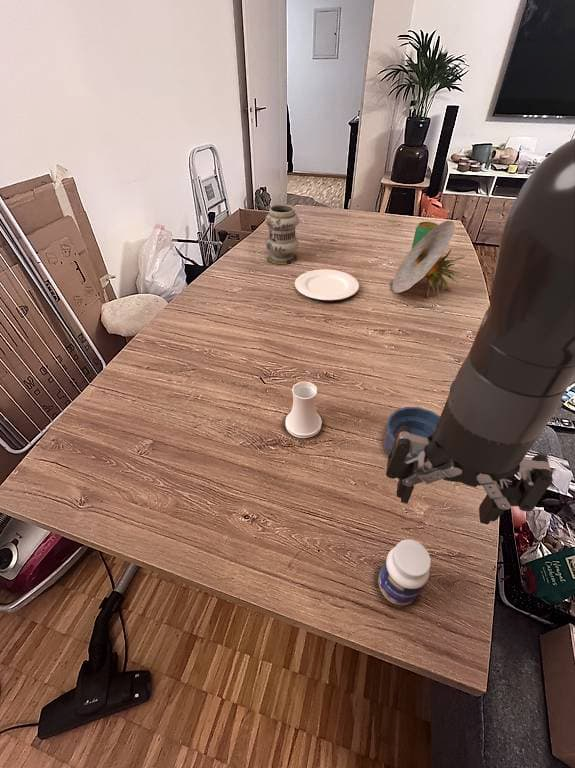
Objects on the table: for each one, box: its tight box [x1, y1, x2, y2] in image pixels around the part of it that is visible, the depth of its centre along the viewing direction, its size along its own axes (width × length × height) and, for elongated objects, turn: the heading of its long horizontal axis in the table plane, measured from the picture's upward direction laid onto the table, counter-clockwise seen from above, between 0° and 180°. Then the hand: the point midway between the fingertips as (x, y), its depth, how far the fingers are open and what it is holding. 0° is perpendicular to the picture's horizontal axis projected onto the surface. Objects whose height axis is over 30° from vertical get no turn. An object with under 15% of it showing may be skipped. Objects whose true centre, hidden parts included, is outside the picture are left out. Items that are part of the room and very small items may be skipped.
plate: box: [294, 268, 360, 302], centre depth 122 cm, size 21×21×2 cm
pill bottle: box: [377, 539, 432, 606], centre depth 52 cm, size 6×6×10 cm
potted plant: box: [391, 220, 465, 298], centre depth 117 cm, size 25×18×25 cm
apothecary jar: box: [264, 203, 300, 265], centre depth 134 cm, size 12×12×18 cm
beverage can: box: [410, 221, 439, 251], centre depth 136 cm, size 8×8×12 cm
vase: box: [285, 381, 323, 439], centre depth 75 cm, size 8×8×10 cm
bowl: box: [382, 406, 441, 471], centre depth 73 cm, size 12×12×5 cm
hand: (442, 506), depth 43 cm, fingers open, 8 cm apart
